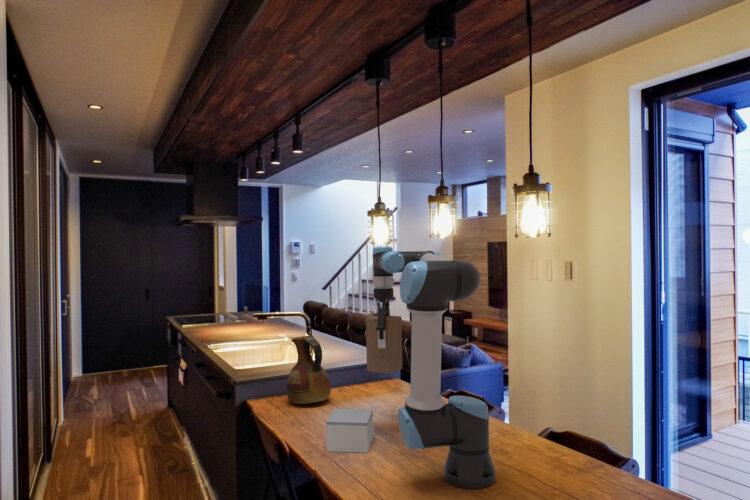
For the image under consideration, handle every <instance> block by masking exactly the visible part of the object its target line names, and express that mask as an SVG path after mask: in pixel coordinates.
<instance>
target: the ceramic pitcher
mask: <svg viewBox="0 0 750 500" xmlns="http://www.w3.org/2000/svg"><path fill="white" fill-rule="evenodd" d="M291 342H293V344H294V346H295V347H296V352H297V361H296V364H295V365H294V366H293V367H292V368H291V370H290V372H289V375H288V378H287V382H286V383H287V384H286V396H287V399H288V401H290V402H291V403H295V404H312V403H319V402H325V401H326V400H328V398H330V396H331V394H332V393H331V392H332V386H331V380H330V378H329V375H328V373H327V371H326V370H325V369H324V367H322V366H321V365H322V359H323V350H322V347H321V344H320V342H319V341H318V340H317V339H316V338H315V336H314V335H304V336H303V335H302V336H295V337H293V338H291ZM311 348H312V351H313V355H314V360H313V357H312V354H311Z"/></svg>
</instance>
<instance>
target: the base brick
mask: <svg viewBox="0 0 750 500" xmlns="http://www.w3.org/2000/svg"><path fill="white" fill-rule="evenodd" d="M325 424H326V425H325V428H326V429H325V431H326V432H325V433H326V435H325V436H326V440H325V442H326V443H325V445H326V452H339V453H342V452H343V453H360V454H361V453H362V454H363V453H365V454H368V452H369V450H370V448H371V444H372V442H373V439H374V410H373V409H355V408H353V409H351V408H334V410H333V411H332V413H331V414H330V415H329V417H328V418H327V420H326V421H325Z"/></svg>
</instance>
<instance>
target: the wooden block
mask: <svg viewBox="0 0 750 500" xmlns="http://www.w3.org/2000/svg"><path fill="white" fill-rule="evenodd" d="M377 317H378V315H374V316H369V317H366V318H365V332H366V333H365V337H366V339H365V340H366V341H365V342H366V348H365V349H366V371H367V372H371V373H377V374H386V375H390V374H393V373H395V372H397V371H400V370H402V369H403V332H402V331H403V330H402V329H403V328H402V325H403V324H402V323H403V322H402V319H403V318H402V316H400V315H390V316H386V318H385V331H386V348H378V330H376V328H377Z"/></svg>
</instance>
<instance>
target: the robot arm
mask: <svg viewBox="0 0 750 500" xmlns="http://www.w3.org/2000/svg"><path fill="white" fill-rule="evenodd" d="M372 273H373V275H372V284H373V285H372V286H373V287H374V288H373V298H374V299H377V300H378V299H379V302H377V316H378V317H377V328H376V330H378V348H386V331H385V318H386V316H391V312H390V311H391V309H390V299H392V298H394V288H393V287H394V282H395V281H396V280H395V278H394V274H397V273H401V275H400V279H399V292H400V293H399V296H400V300H401V301H402V302H403V303H404V304H406V309H407V311H409V313H411V314H410V315H411V335H410V337H411V338H410V339H411V341H410V343H411V344H410V346H411V347H410V394H409V395H408V396H407V397H406V398H405V401H404V407H403V406H402V407H400V408H399V409H398V411H397V420H398V426H399V431H400V435H401V438H402V440H403V442H404V445H405V446H406V447H407V448H408V449H410V450H425V449H433V448H441V447H447V446H448V447H449V448H448V449H449V450H448V454H447V456H446V459H445V463H444V466H443V478H444V479H445V481H446V482H447V483H449V484H450V485H453V486H456V487H458V488H463V489H470V490H471V489H472V490H473V489H475V490H476V489H477V490H478V489H484V488H488V487H490V486H492V485H494V483H496V480H497V479H496V478H497V476H496V469H495V466H494V463H493V460H492V457H491V454H490V425H489V424H490V423H489V422H490V417H489V415H490V414H489V407H488V405H487V403H486V402H485V401H483V400H481V399H478V398H476V397H472V396H468V395H467V396H466V395H452V396H449V398H448V400H447V402H446V400H445V399H444V398H443V397H442V396H441V387H442V386H441V383H442V382H441V377H442V375H441V374H442V336H443V335H442V334H443V331H442V329H443V314H444V313H445V312H446V311H447V310H448V304H449V303H448V302H459V301H463V300H464V301H465V300H466V299H469V298H470V297H471V296H473V295H474V294H475V293H476V292H477V290H478V289H479V287H480V283H481V275H480V271H479V269H478V267H476V265H475V264H473V263H471V262H470V261H466V260H464V259H457V260H455V259H454V260H453V259H449V258H447V257H443V256H441V254H440V252H438V251H435V250H422V251H420V250H417V251H414V250H413V251H412V250H411V251H408V250H407V251H403V250H402V251H394V250H393V247H392V246H375V247H373V248H372Z"/></svg>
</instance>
